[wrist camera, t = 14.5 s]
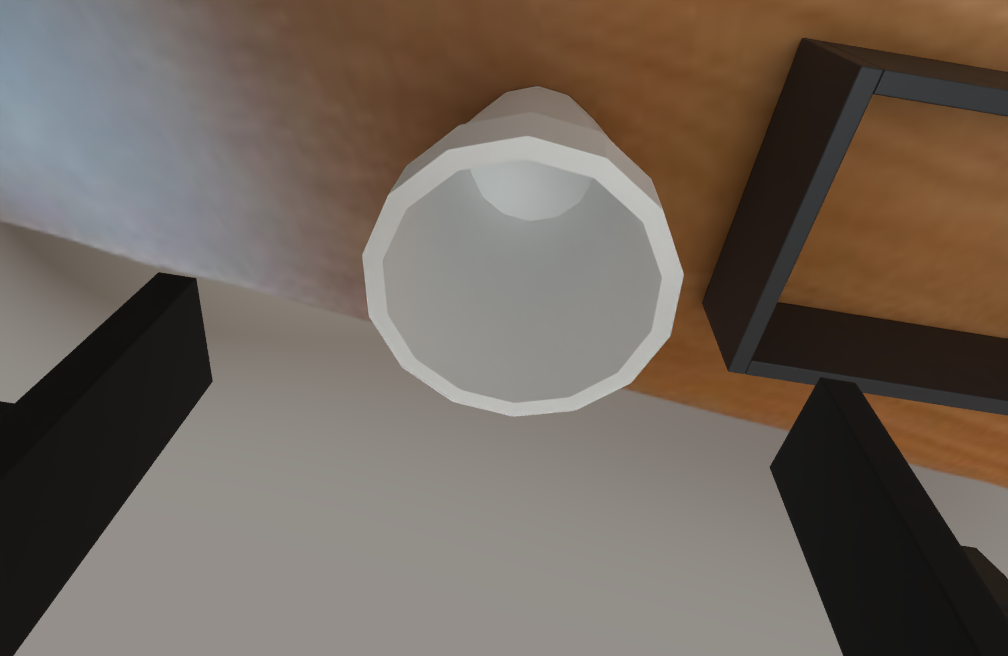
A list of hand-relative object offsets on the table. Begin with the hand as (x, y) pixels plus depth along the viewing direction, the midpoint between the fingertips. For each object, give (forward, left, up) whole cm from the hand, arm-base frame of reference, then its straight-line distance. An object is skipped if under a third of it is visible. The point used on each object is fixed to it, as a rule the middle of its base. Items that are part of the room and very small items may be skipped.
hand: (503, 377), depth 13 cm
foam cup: (0, -1, -19) cm, 18 cm away
